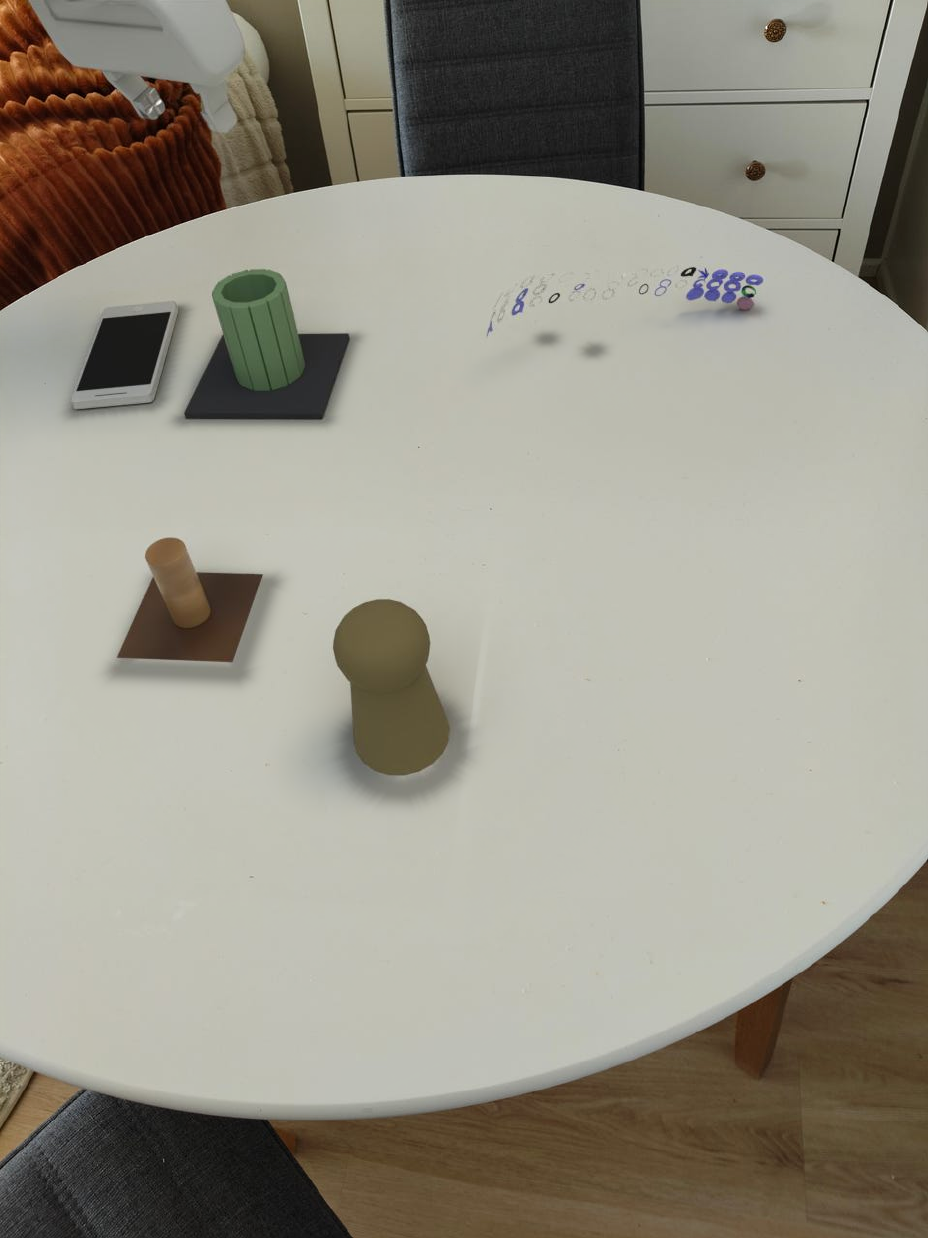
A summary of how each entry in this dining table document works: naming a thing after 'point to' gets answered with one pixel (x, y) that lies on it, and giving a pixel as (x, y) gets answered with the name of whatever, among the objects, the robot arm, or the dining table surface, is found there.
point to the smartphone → (126, 356)
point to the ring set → (693, 294)
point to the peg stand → (189, 609)
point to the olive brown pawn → (391, 687)
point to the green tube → (259, 329)
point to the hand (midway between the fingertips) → (189, 120)
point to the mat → (294, 401)
